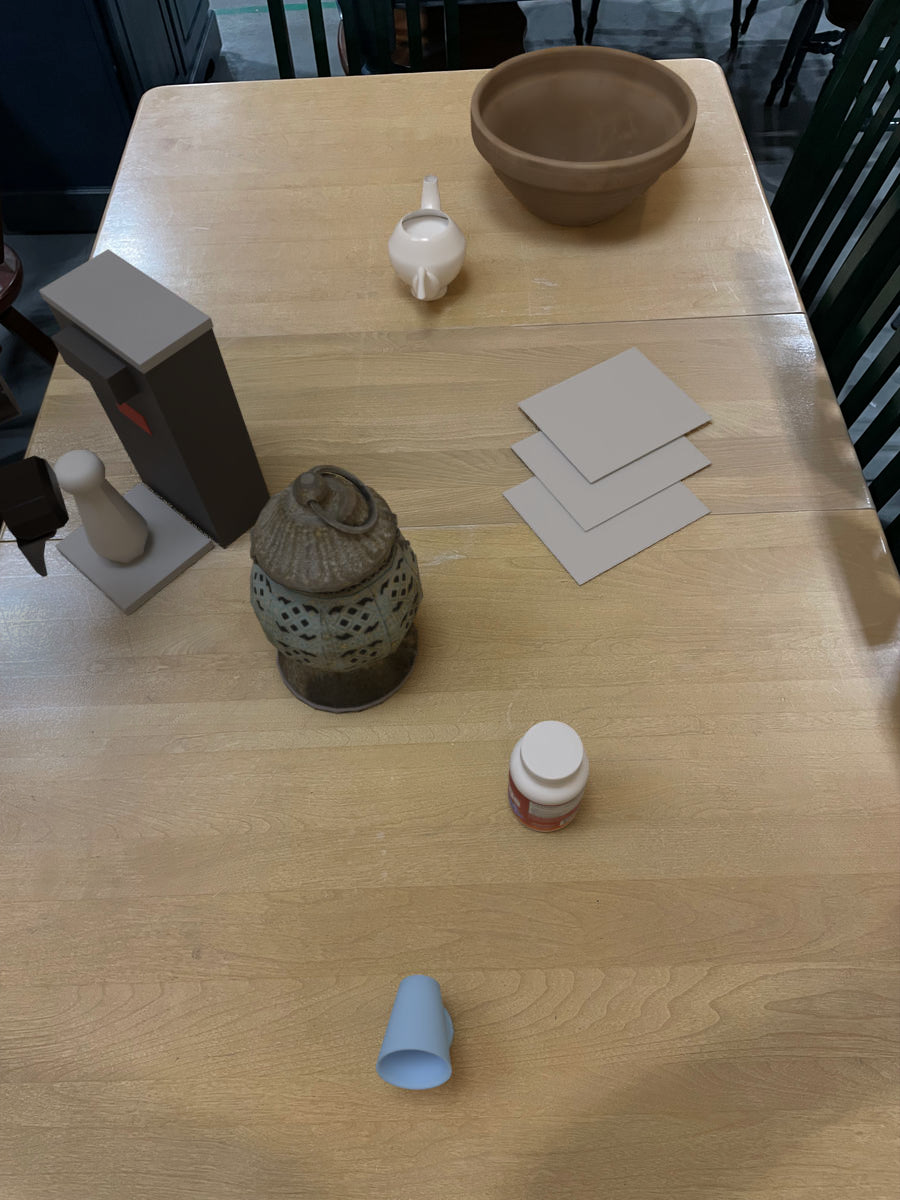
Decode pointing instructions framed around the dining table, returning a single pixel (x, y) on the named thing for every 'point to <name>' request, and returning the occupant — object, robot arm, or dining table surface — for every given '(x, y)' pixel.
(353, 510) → the lantern
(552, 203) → the flower pot
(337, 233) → the dining table surface
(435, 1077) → the blue mug
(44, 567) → the robot arm
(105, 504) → the salt shaker
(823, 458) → the dining table surface
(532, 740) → the pill bottle
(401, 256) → the teapot
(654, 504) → the paper stack
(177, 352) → the coffee maker
